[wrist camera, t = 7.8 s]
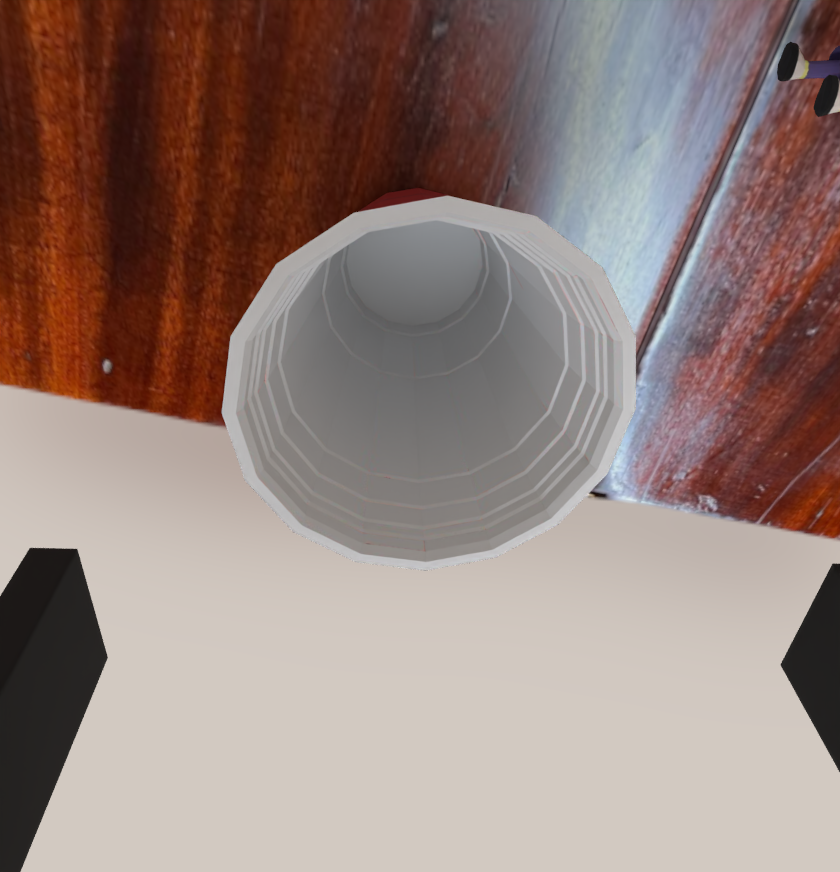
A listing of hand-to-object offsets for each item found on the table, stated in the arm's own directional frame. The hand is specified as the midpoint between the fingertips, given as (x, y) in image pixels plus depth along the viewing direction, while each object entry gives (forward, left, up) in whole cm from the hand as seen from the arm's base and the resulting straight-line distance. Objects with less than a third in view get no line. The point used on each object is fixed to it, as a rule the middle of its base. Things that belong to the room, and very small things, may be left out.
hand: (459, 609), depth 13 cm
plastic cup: (0, 0, -19) cm, 19 cm away
